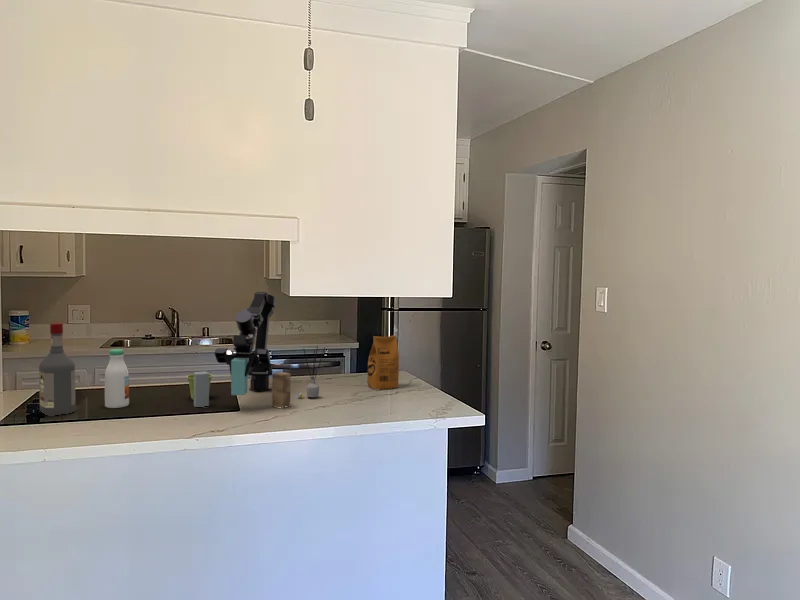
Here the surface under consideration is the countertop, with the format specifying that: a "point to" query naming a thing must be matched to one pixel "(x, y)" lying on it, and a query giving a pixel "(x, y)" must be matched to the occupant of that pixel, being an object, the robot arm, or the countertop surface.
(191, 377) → the plant pot
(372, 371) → the coffee package
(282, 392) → the walnut block
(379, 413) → the countertop surface
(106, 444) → the countertop surface
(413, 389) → the countertop surface
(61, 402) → the liquor
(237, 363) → the teal block
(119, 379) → the milk bottle
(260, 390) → the robot arm
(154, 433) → the countertop surface
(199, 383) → the slate block
